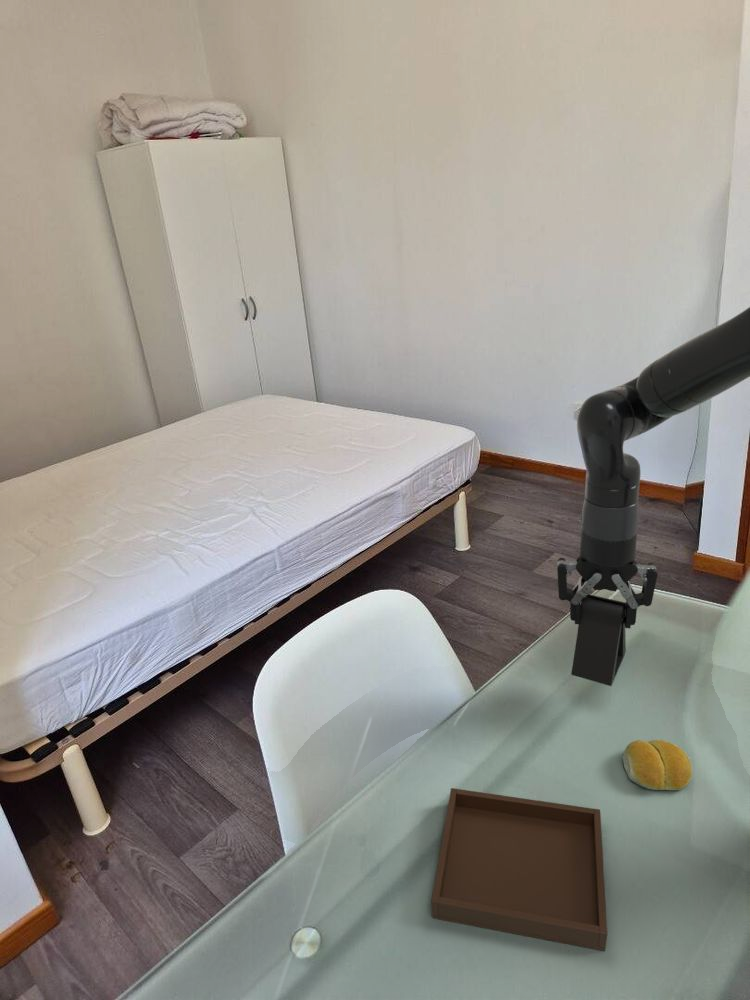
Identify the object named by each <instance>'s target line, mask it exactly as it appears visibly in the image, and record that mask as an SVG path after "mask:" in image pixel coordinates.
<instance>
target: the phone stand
mask: <svg viewBox="0 0 750 1000" xmlns="http://www.w3.org/2000/svg"><path fill="white" fill-rule="evenodd" d="M580 603H581V607H580V624H578V627H577V632H576V640H575V646H574V647H575V648H574V654H573V659H572V660H573V662H572V667H571V673H570V674H571V676H574V677H578V678H580V679H583V680H584V679H585V680H587V681H592V682H595V683H598V684H601V685H605V686H609V687H612V686H613V684H614V681H615V679H616V676H617V675H618V672H619V670H620V667H621V665H622V662H623V660H624V658H625V656H626V651H627V650H626V649H627V647H626V646H627V643H626V628H625V611H626V601H621V600H616V599H611V598H607V597H602V596H599V595H595V594H589V593H588V595H587V596H584V598H583V599H582V600H581V601H580Z"/></svg>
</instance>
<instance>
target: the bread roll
mask: <svg viewBox="0 0 750 1000" xmlns="http://www.w3.org/2000/svg"><path fill="white" fill-rule="evenodd" d="M622 761H623V767H624V770H625V772H626V775H627V777H628V778H629V780H631V781H632V782H633V783H634V784H637V785H639V786H640V787H643V788H645V789H647V790H654V791H679V790H683V789H685V788H686V787H687V785H688V784H689V783H690V781H691V779H692V773H693V766H692V763H691V760H690V758H689V756H688V755H687V754H686V752H685V751H684V750H683V749H682V748H681V747H680V746H677V745H676V744H674V743H671V742H669V741H666V740H663V739H652V740H648V741H644V740H642V739H641V740H639V739H637V740H634V741H632V742H630V743H629V744H628V745H627V746H626V747H625V749H624V752H623V755H622Z"/></svg>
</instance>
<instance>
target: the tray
mask: <svg viewBox="0 0 750 1000" xmlns="http://www.w3.org/2000/svg"><path fill="white" fill-rule="evenodd" d="M602 836H603V835H602V817H601V809H598V808H591V807H585V806H579V805H570V804H564V803H558V802H550V801H544V800H538V799H537V800H536V799H530V798H523V797H515V796H509V795H502V794H501V795H500V794H495V793H488V792H480V791H474V790H467V789H461V788H454V787H451V788H450V792H449V798H448V804H447V810H446V815H445V822H444V825H443V833H442V839H441V843H440V848H439V849H440V850H439V854H438V855H439V856H438V861H437V866H436V872H435V879H434V884H433V889H432V896H431V899H430V901H431V904H430V905H431V918H432V919H433V920H434V919H435V920H440V921H446V922H450V923H455V924H461V925H466V926H472V927H477V928H482V929H487V930H492V931H498V932H502V933H507V934H513V935H518V936H524V937H529V938H534V939H538V940H543V941H550V942H554V943H560V944H565V945H570V946H575V947H580V948H585V949H590V950H591V949H592V950H595V951H600V952H601V951H602V952H606V949H607V948H606V947H607V942H608V941H607V940H608V923H607V906H606V887H605V870H604V853H603V837H602Z"/></svg>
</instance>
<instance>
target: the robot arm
mask: <svg viewBox="0 0 750 1000" xmlns="http://www.w3.org/2000/svg"><path fill="white" fill-rule="evenodd" d="M749 378H750V306H749V307H747V308H746V309H745V310H743V311H741V312H739V313H738V314H737V315H734V316H733V317H732V318H730V319H728V320H726V321H725V322H723V323H721V324H718V325H717V326H715V327H712V328H710V329H709V330H707V331H704V332H702V333H700V334H698V335H697V336H694V337H692V338H691V339H689V340H688V341H686V342H684V343H682V344H680V345H679V346H677V347H675V348H674V349H672V350H670V351H669V352H667V353H666V354H664V355H662V356H661V357H659V358H657V359H655V360H653V362H651V363H650V364H648V365H647V366H646V367H645V368H643V370H642V371H641V372H640V373H639V375H638V376H637V377H635V378H633V379H631V380H629V381H627V382H625V383H623V384H621V385H618V386H615V387H612V388H609V389H607V390H603V391H600V392H598V393H595V394H593V395H592V394H591V396H588V397H587V398H586V400H584V401H583V402H582V404H581V406H580V409H579V412H578V414H577V419H576V432H577V437H578V441H579V445H580V450H581V454H582V458H583V462H584V466H585V470H586V472H585V474H586V475H585V485H584V499H583V504H582V509H581V510H582V511H581V518H580V522H581V523H580V524H581V526H580V542H579V555H578V557H577V558H576V560H567V559H566V558H564V557H558V558H557V565H556V566H557V567H556V569H557V588H558V589H557V590H558V599H559V600H560V601H568V602H569V603H570V607H569V618H570V621H573V622H574V625H579V624H580V607H581V600H582V599H583V598H584V597H585V596H587V595H588V594H589V593H590V592H591V591H592V590H594V591H602V590H605V591H609V592H617V590H618V591H619V593H620V595H621V596H622V598H623V599H624V600H625V603H626V611H625V629H631V626H635V625H636V623H637V614H638V613H637V611H638V608H639V607H641V606H644V607H650V606H651V605H652V604H653V598H654V594H655V589H656V584H657V579H658V571H657V566H656V564H655V563H654V562H648V563H646V564H638V563H637V561H636V550H637V539H638V529H639V518H640V517H639V516H640V515H639V514H640V511H639V510H640V509H639V508H640V507H639V495H640V487H641V485H640V484H641V465H640V462H639V460H638V459H637V458H636V457H635V456H633V455H631V454H630V453H629V454H628V453H625V452H624V444H625V441H628V440H630V439H633V438H636V437H638V436H640V435H642V434H645V433H646V432H648V431H651V430H652V429H655V428H656V427H658V426H660V425H661V424H663V423H664V422H666V421H667V420H669V419H670V418H672V417H674V416H678V415H680V414H682V413H685V412H686V411H688V410H691V409H692V408H695V407H697V406H698V405H701V404H703V403H705V402H707V401H709V400H711V399H712V398H714V397H716V396H718V395H720V394H722V393H724V392H726V391H728V390H729V389H731V388H733V387H734V386H736V385H738V384H740V383H741V382H744V381H745V380H746V379H749ZM575 570H576V571H577V573H578V574H579V575H580V577H579V579H578V582H577V583H576V584H575V586H573V588H569V587H568V577H570V576H572V574H573V572H574V571H575ZM637 574H639V575H640V579H641V581H642V586H641V592H639V593H636V592H635V590H634V588H633V586H632V584H631V582H630V581H631V579H633V578H634V577H635V576H636V575H637Z"/></svg>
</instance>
